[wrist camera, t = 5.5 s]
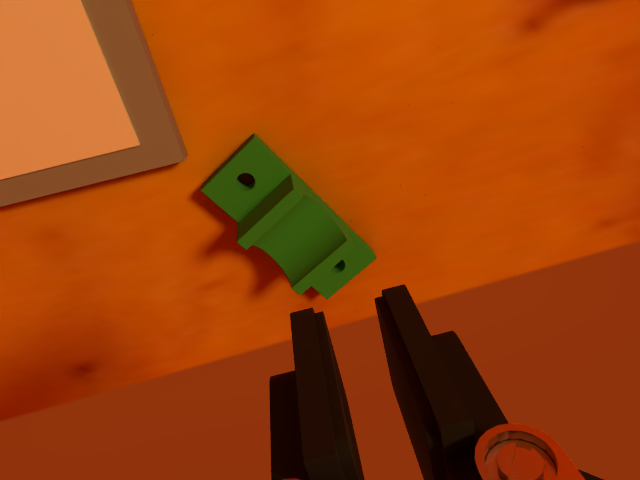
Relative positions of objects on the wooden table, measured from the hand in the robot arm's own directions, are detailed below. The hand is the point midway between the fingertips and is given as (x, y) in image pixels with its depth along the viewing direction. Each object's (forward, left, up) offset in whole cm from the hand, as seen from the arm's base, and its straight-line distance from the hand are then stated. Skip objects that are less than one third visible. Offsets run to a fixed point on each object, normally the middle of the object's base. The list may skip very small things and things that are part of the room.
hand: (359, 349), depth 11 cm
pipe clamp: (+1, +1, -16) cm, 16 cm away
